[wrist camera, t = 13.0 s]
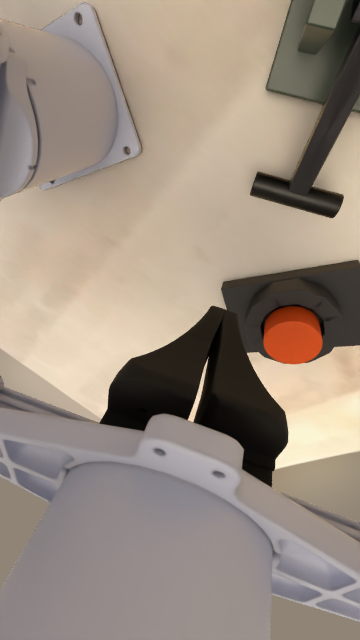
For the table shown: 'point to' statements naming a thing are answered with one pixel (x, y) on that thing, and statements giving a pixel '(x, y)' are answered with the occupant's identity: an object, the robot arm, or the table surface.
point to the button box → (299, 303)
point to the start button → (292, 335)
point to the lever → (319, 142)
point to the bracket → (312, 49)
